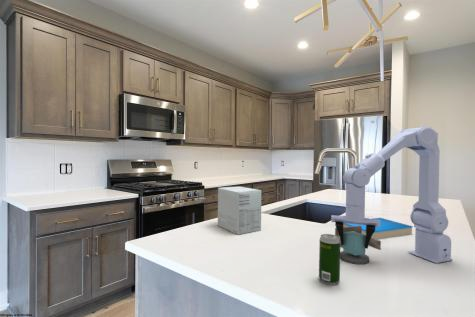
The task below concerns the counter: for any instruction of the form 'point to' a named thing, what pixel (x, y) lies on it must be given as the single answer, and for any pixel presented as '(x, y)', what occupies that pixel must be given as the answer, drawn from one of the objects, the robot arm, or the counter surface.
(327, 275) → the beer can
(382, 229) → the book
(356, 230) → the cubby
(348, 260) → the coaster
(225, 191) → the supplement box
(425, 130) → the robot arm
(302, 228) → the counter surface
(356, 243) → the block
